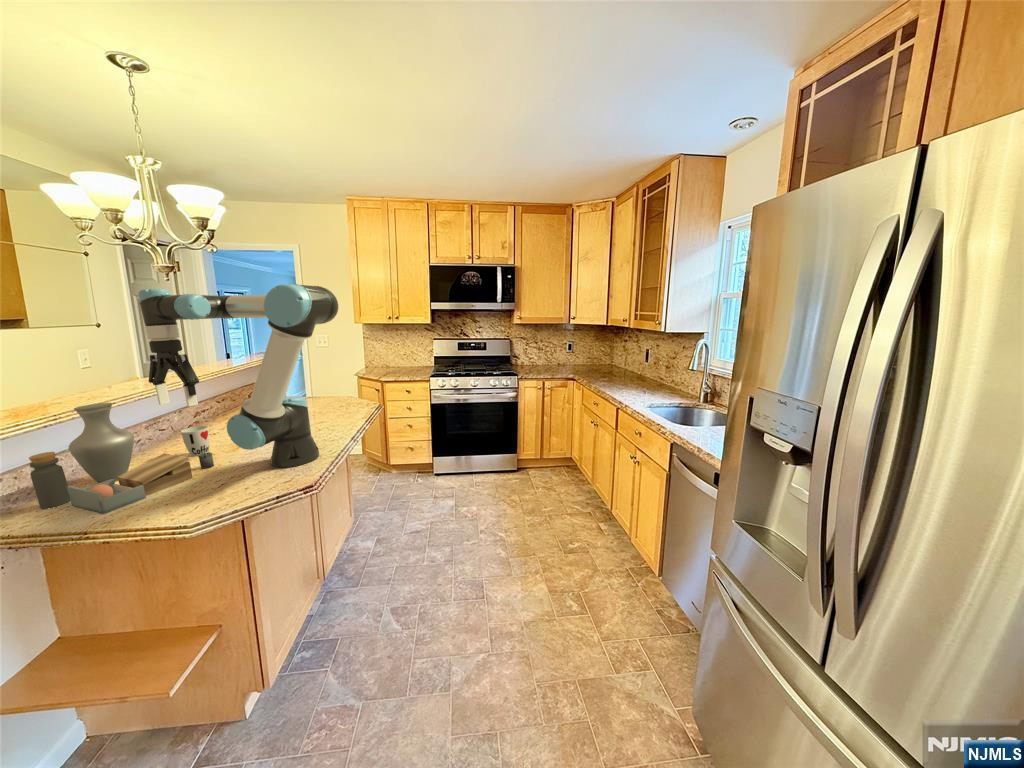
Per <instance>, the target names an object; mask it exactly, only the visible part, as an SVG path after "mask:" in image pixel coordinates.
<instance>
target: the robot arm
mask: <svg viewBox="0 0 1024 768" xmlns="http://www.w3.org/2000/svg"><path fill="white" fill-rule="evenodd" d="M138 299H139V300H138V302H139V303H138V304H139V306H140V311H141V314H142V319H143V323H144V325H145V326H144V328H145V332H146V336H147V340H150V341H148V346H149V349H150V352H151V353H153V354H151V355H149V360H150V362H149V371H148V372H149V373H148V383H149V384H152V385H153V386H155V387H154V388H155V391H156V395H157V401H158V405H161V406H162V405H166V404H170V403H171V401H170V395H169V392H168V388H167V387H168V386H167V382H166V378H167V374H168V372H169V370H171V371H173V372H174V373H175V374H176V375H177V377H178V378H179V379H180V380H181V382H182V383H183V385H182V387H183V391H184V396H185V401H186V405H187V406H186V407H192V406H197V405H199V402H198V397H197V391H196V387H195V386H196V385H197V384H199V383H200V379H199V378H198V376H197V374H196V372H195V370H194V368H193V367H192V365H191V362H190V361H189V358H188V354H186V353H184V354H179V353H180V352H181V351H182V350H183V346H182V343H181V340H180V339H178V338H180V332H179V328H178V323H177V321H178V320H181V321H182V320H184V321H185V320H187V321H188V320H190V321H192V320H207V319H208V320H210V319H246V318H247V319H258V318H260V319H263V318H265V319H267V321H268V322H267V324H268V326H269V328H270V329H271V333H270V335H269V339H268V341H267V342H268V343H267V345H266V348H265V351H264V354H263V357H262V360H261V365H260V367H259V371H258V374H257V377H256V380H255V383H254V387H253V388H252V389H253V390H252V393H251V395H250V397H249V398H246V399H245V400H244V401H243V402H242V405H241V407H240V411H239V413H238V414H234V415H233V416H231V417H230V418H229V419H228V421H227V423H226V433H227V434H228V435H227V436H228V437H230V441H232V443H234V444H235V445H236V446H238V447H239V448H241V449H244V450H248V451H252V450H255V449H258V448H262V447H264V446H265V445H267V444H270V443H272V442H273V447H272V451H271V452H272V453H271V456H270V461H271V462H270V463H271V465H272V466H273V467H275V468H291V467H292V468H293V467H297V466H302V465H305V464H308V463H311V462H313V461H315V460H316V459H318V458H319V457H320V449H319V447H318V445H317V444H316V442H315V440H314V438H313V436H312V432H311V424H310V416H309V407H308V404H307V400H306V398H305V397H303V396H296V395H295V396H286V394H287V392H288V389H289V386H290V383H291V380H292V377H293V374H294V371H295V369H296V365H297V361H298V360H299V356H300V354H301V351H302V349H303V345H304V343H305V342H304V341H305V340H307V339H309V338H312V336H313V333H314V330H315V327H316V325H323V324H326V323H329V322H331V321H332V320H334V318H335V317H336V316H337V314H338V313H339V301H338V299H337V297H336V296H335V294H334V293H333V292H332V291H331V290H329V289H328V288H326V287H323V286H320V285H308V284H307V285H304V284H298V283H286V284H285V283H283V284H279V285H275V286H274V287H272V288H271V289H270V290H269V291H268V292H267V293H266V294H240V295H239V294H237V295H230V294H229V295H207V294H206V295H205V294H196V293H183V294H174V295H173V294H172V293H171V291H170V290H168V289H166V288H165V289H164V288H152V289H151V288H149V289H148V288H147V289H146V288H145V289H139V290H138Z"/></svg>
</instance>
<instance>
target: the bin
mask: <svg viewBox="0 0 1024 768" xmlns="http://www.w3.org/2000/svg"><path fill="white" fill-rule="evenodd" d="M115 482H116V481H115ZM115 482H114V479H111V480H108V481H105V482H101V483H95V484H93V485H90V486H86V487H83V488H81V487H76V486H72V485H68V486H67V490H68V494H69V497H70V504H71V507H72V506H73V507H74V508H75V509H81V510H85V511H89V512H92V513H97V514H100V515H106V514H108V513H111V512H114V511H116V510H118V509H121V508H124V507H126V506H129V505H131V504H134V503H137V502H139V501H141V500H145V499H146V498H147V496H146V494H145V490H144V486H143V485H140V486H137V487H135V488H131V487H127V486H122V485H119V484H116V483H115ZM97 485H108V486H110V487H112V489H113V495H112V496H110V497H107V498H104V499H102V495H101V493H99V492H95V491H91V490H90V489H91V488H93V487H95V486H97Z"/></svg>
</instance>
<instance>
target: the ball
mask: <svg viewBox="0 0 1024 768" xmlns="http://www.w3.org/2000/svg"><path fill="white" fill-rule="evenodd" d="M90 490H91V491H95V492H99V493H101V495H102V499H104V498H107V497H110V496H112V495H113V489H112V487H110V486H108V485H97V486H95V487H93V488H91V489H90Z"/></svg>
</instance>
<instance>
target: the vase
mask: <svg viewBox="0 0 1024 768" xmlns="http://www.w3.org/2000/svg"><path fill="white" fill-rule="evenodd" d="M112 406H113V403H112V402H98V403H91V404H86V405H81V406H80V405H79V406H76V407H73V410H74V411H75V412H76V413H77V414H78V416H80V418H81V419H82V421H83V423H84V428H83V431H82V432H81V434H80V435H78V436H77V437H75V438H74V439H73V440H72V441H71V442H70V443H69V445H68V451H69V452H70V454H71V456H72V457H73V459H75V461H76V462H77V463H78V464H79V465H80V467H81V468H82V469H83V471H85V473H86V474H87V475H88V476H90V477H91V478H92V480H94V481H95V482H96V484H98V483H101V482H105V481H108V480H111V479H114V482H119V481H118V478H117V477H118V476H120V475H122V474H124V473H126V472H128V471H129V467H130V464H131V460H132V456H133V455H132V454H133V450H134V443H135V437H134V434H133V433H132V432H131V431H128V430H126V429H122V428H120V427H117V426H116V425H115V424H113V423H112V421H111V419H110V414H111V409H112Z"/></svg>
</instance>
